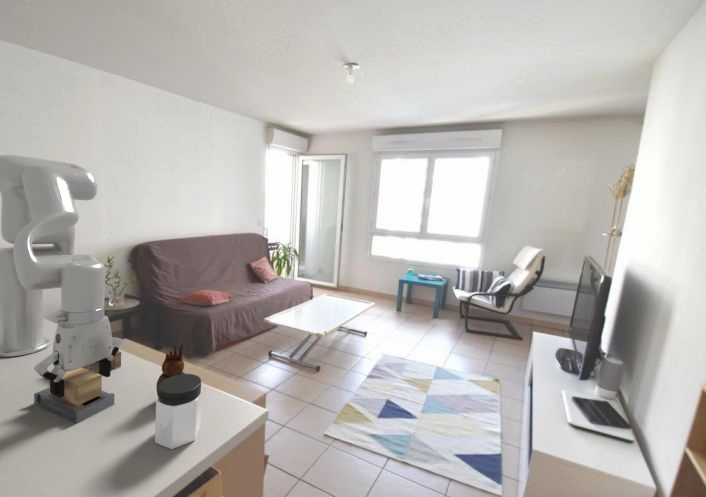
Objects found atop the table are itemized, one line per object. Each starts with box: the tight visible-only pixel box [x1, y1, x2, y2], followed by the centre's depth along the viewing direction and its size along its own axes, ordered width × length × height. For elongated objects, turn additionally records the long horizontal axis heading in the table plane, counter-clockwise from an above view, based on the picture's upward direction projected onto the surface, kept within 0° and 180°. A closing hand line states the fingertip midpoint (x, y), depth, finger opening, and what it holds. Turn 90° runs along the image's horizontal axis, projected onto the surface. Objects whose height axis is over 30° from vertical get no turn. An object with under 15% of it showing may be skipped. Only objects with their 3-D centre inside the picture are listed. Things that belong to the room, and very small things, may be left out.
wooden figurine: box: [155, 343, 186, 396], centre depth 80 cm, size 7×6×15 cm
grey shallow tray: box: [33, 387, 115, 424], centre depth 76 cm, size 15×8×3 cm, turn 71°
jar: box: [154, 373, 203, 450], centre depth 69 cm, size 9×8×12 cm
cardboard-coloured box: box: [48, 367, 103, 406], centre depth 75 cm, size 10×5×5 cm, turn 71°
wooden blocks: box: [82, 350, 122, 371], centre depth 91 cm, size 10×10×4 cm
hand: (82, 385), depth 75 cm, fingers open, 9 cm apart
